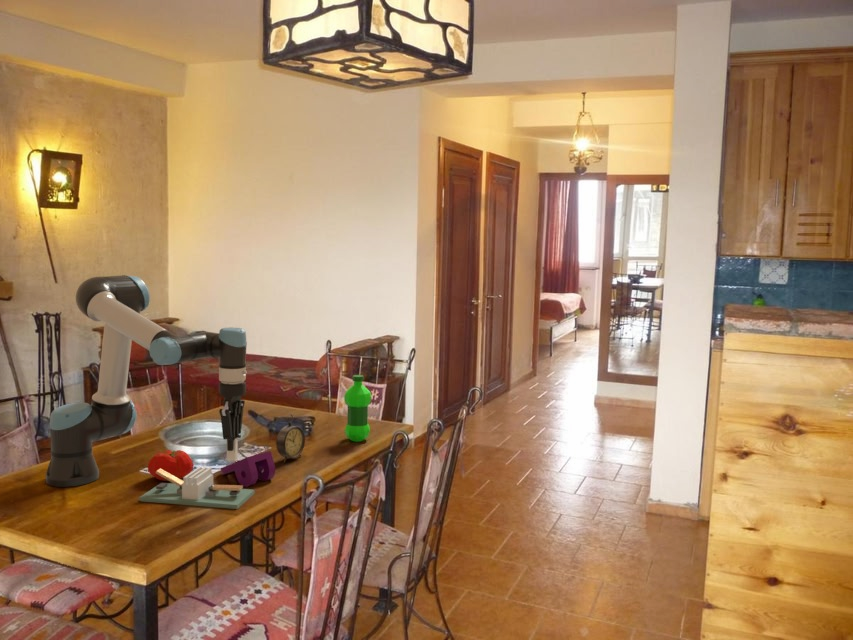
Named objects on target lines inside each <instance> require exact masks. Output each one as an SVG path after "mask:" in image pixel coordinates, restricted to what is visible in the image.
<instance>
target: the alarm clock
mask: <svg viewBox="0 0 853 640" xmlns="http://www.w3.org/2000/svg"><path fill="white" fill-rule="evenodd" d="M289 416H291V421H288V418H289ZM293 418H294V417H293V414H292V413H290V414H288V415H287V416H286V423H287V424H288V425H285V426H284V427H282V428H281V429H280V430H279V432H278V434H277V436H276V440H275V445H276V446H275V447H276V450H277V452H278V454H279V455H280V456H281V457H284V459H283V464H286V460H287V459H288V458H290V459H295V458H297V457H302V455H301V454H302V452H303V450H304V447H305V443H306V437H305V436H306V435H305V433H304V430H303V429H302V428H301V427H300V426H298V425H296V426H295V425H292V422H293V421H294V419H293Z"/></svg>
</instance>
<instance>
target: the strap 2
mask: <svg viewBox="0 0 853 640" xmlns="http://www.w3.org/2000/svg"><path fill="white" fill-rule="evenodd" d="M208 489H209V490H210V491H212V490H231V491H240V490H241V489H244V486H243V485H241V484H238V485H237V484H216V483H213V485H211V486H210V487H209V488H208Z"/></svg>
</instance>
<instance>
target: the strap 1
mask: <svg viewBox="0 0 853 640" xmlns="http://www.w3.org/2000/svg"><path fill="white" fill-rule="evenodd" d="M156 474H158V475H160V476H161V477H163V478H165V479H167V480H169V481H168V482H169V483H174V484H176V485H178V486H179V487H180V488H182V484H183V483H184V480H183V479H179V478H177V477H175V476H173V475H171V474H170V473H168V472H166V471H164V470H162V469H161V468H160V469H159V470H157V471H156Z"/></svg>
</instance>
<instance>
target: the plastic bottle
mask: <svg viewBox="0 0 853 640" xmlns="http://www.w3.org/2000/svg"><path fill="white" fill-rule="evenodd" d="M364 379H365V378H364V375H362V374H354V375H352V382H353V384H352V385H351V386H350V387H349V388H348V389H347V390H346V391H345V393H344V397H343V398H344V403H345V404H346V406H347V424H346V425H345V429H344V434H345V435H346V437H347V438H348V439H349V440H350V441H351V442H355V443H357V442H359V443H360V442H363V441H365V440H366V439H367V438H368V437H369V435H370V432H371V427H370V424H369V423H368V419H369V417H368V416H369V415H368V413H369V411H368V410H369V409H368V408H369V405H370V404H371V401H372V393H371V391H370V390H369V389H368V388H367V386H365V385H364V384H363V382H364Z"/></svg>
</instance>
